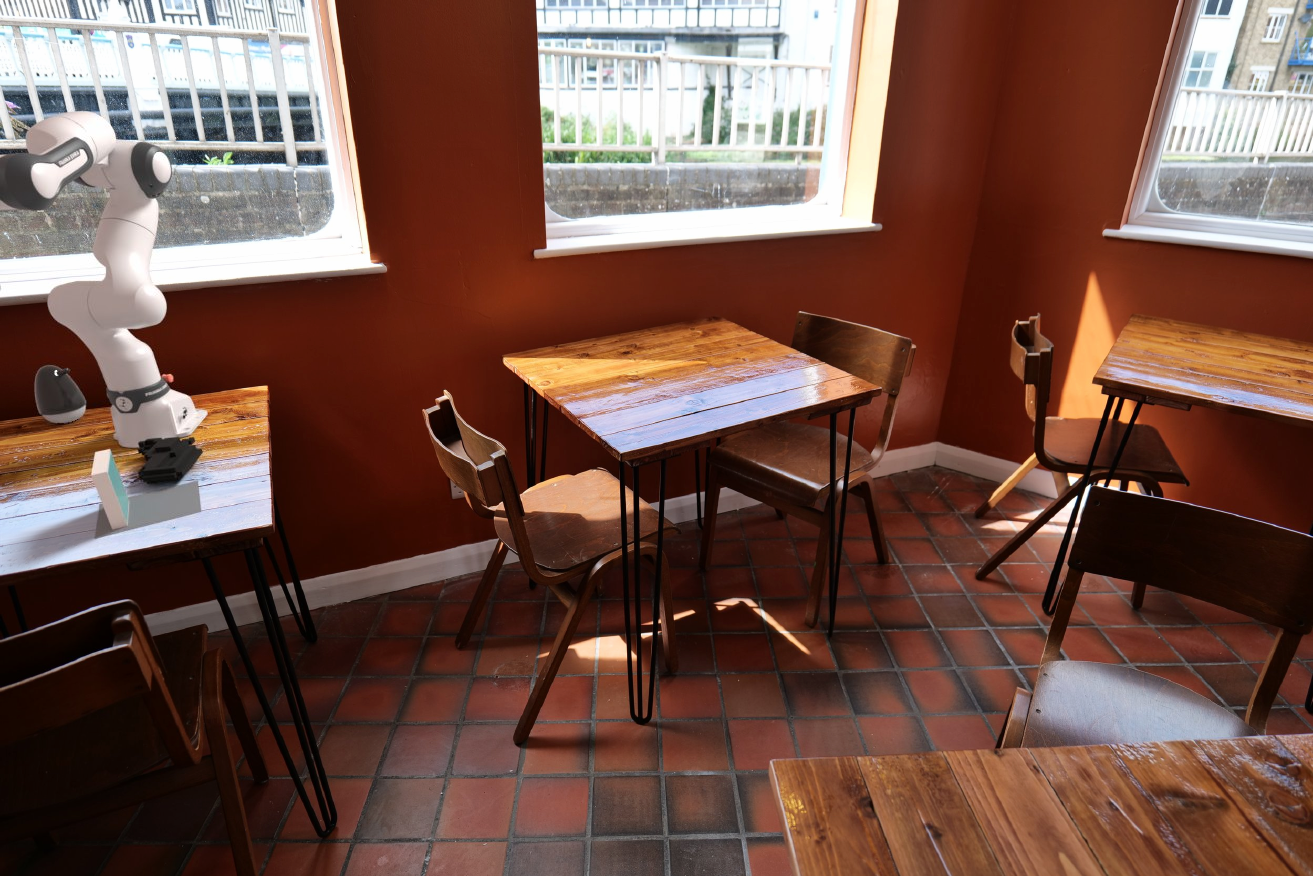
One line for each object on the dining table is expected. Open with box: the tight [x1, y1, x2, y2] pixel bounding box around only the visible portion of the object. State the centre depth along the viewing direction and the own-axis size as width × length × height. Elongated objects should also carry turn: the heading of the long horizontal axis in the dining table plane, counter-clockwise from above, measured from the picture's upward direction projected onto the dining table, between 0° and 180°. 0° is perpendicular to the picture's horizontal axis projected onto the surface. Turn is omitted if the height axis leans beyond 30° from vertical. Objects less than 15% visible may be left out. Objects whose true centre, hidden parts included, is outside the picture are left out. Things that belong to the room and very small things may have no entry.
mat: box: [94, 480, 202, 540], centre depth 154 cm, size 18×16×1 cm
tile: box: [90, 448, 129, 530], centre depth 149 cm, size 2×12×12 cm, turn 31°
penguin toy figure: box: [34, 364, 87, 424], centre depth 196 cm, size 10×10×15 cm
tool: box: [136, 436, 204, 485], centre depth 170 cm, size 5×20×15 cm
